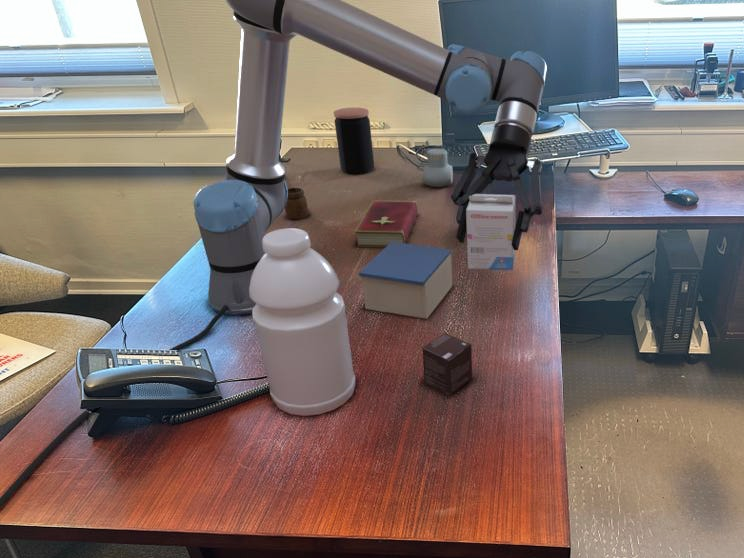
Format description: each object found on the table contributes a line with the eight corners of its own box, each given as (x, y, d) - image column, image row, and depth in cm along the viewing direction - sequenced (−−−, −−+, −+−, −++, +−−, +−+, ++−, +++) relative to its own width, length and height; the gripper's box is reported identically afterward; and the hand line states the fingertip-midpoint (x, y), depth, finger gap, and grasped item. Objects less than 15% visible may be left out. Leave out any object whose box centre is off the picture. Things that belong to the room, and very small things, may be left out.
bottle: (303, 361, 116) (274, 212, 100) (371, 377, 112) (352, 224, 96) (254, 406, 105) (213, 248, 89) (326, 426, 101) (297, 263, 85)
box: (447, 367, 114) (445, 331, 110) (473, 379, 111) (472, 343, 107) (423, 383, 110) (421, 347, 106) (449, 396, 107) (448, 359, 103)
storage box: (427, 318, 128) (424, 283, 124) (365, 308, 132) (361, 274, 127) (452, 286, 140) (451, 253, 135) (394, 277, 143) (391, 245, 139)
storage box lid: (423, 285, 123) (423, 282, 123) (359, 276, 127) (358, 272, 126) (451, 252, 135) (451, 249, 135) (391, 245, 139) (391, 241, 138)
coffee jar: (381, 168, 208) (375, 109, 198) (359, 177, 200) (352, 117, 190) (356, 163, 213) (349, 105, 202) (333, 171, 205) (325, 113, 195)
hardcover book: (418, 215, 174) (417, 200, 171) (405, 247, 156) (403, 231, 154) (374, 214, 175) (372, 199, 172) (356, 246, 157) (354, 230, 155)
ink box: (515, 252, 126) (517, 185, 119) (512, 271, 119) (515, 201, 112) (471, 250, 127) (471, 183, 119) (466, 269, 120) (465, 199, 112)
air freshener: (426, 178, 199) (425, 145, 193) (453, 178, 199) (452, 145, 193) (422, 190, 190) (420, 156, 184) (450, 190, 190) (449, 156, 184)
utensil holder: (310, 218, 173) (303, 173, 166) (286, 221, 171) (278, 176, 164) (307, 210, 177) (300, 167, 171) (283, 213, 176) (275, 170, 169)
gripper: (573, 149, 122) (549, 259, 119) (461, 138, 128) (435, 243, 124) (569, 127, 115) (544, 243, 112) (451, 117, 121) (423, 228, 117)
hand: (487, 243), depth 118 cm, fingers closed on ink box, 10 cm apart
